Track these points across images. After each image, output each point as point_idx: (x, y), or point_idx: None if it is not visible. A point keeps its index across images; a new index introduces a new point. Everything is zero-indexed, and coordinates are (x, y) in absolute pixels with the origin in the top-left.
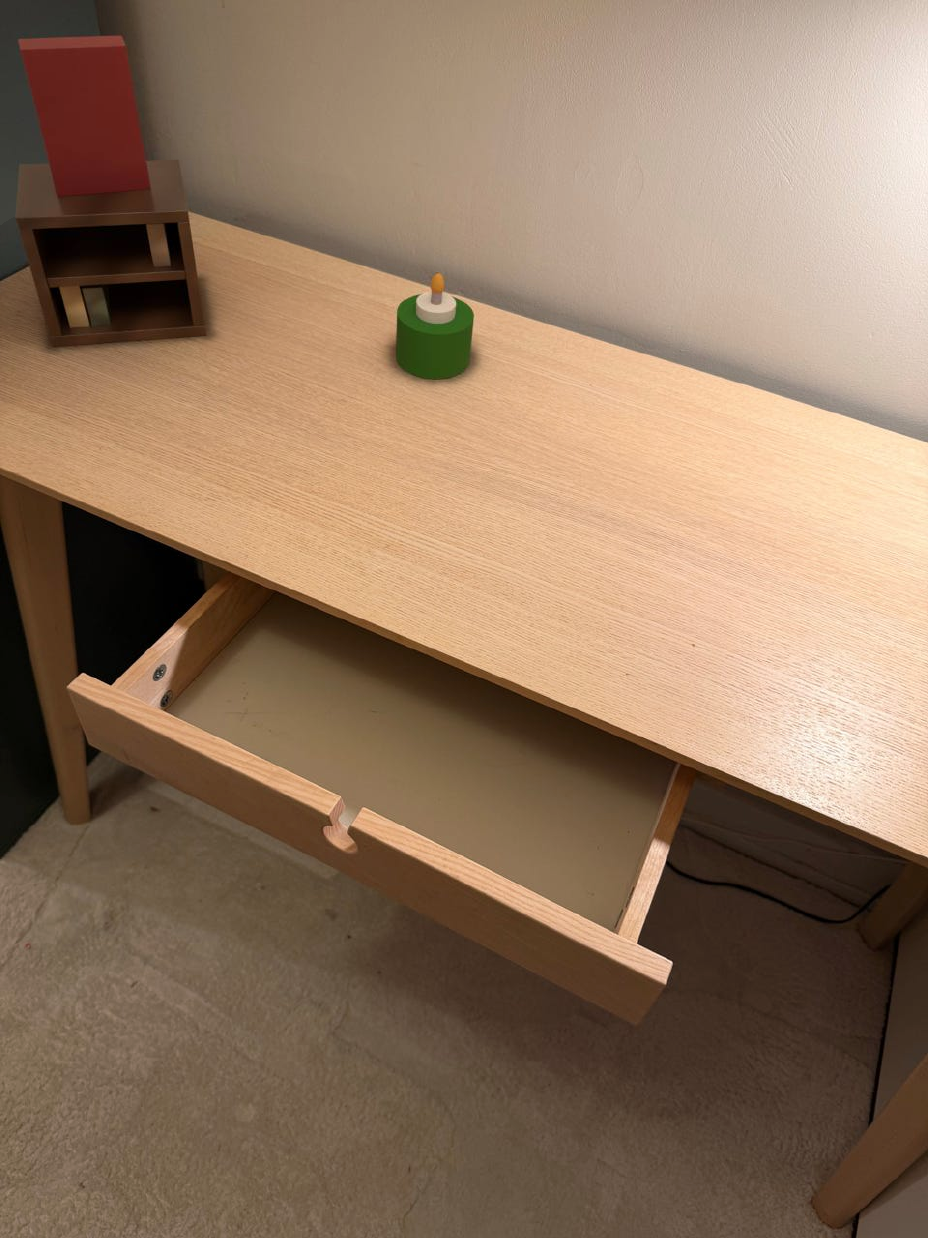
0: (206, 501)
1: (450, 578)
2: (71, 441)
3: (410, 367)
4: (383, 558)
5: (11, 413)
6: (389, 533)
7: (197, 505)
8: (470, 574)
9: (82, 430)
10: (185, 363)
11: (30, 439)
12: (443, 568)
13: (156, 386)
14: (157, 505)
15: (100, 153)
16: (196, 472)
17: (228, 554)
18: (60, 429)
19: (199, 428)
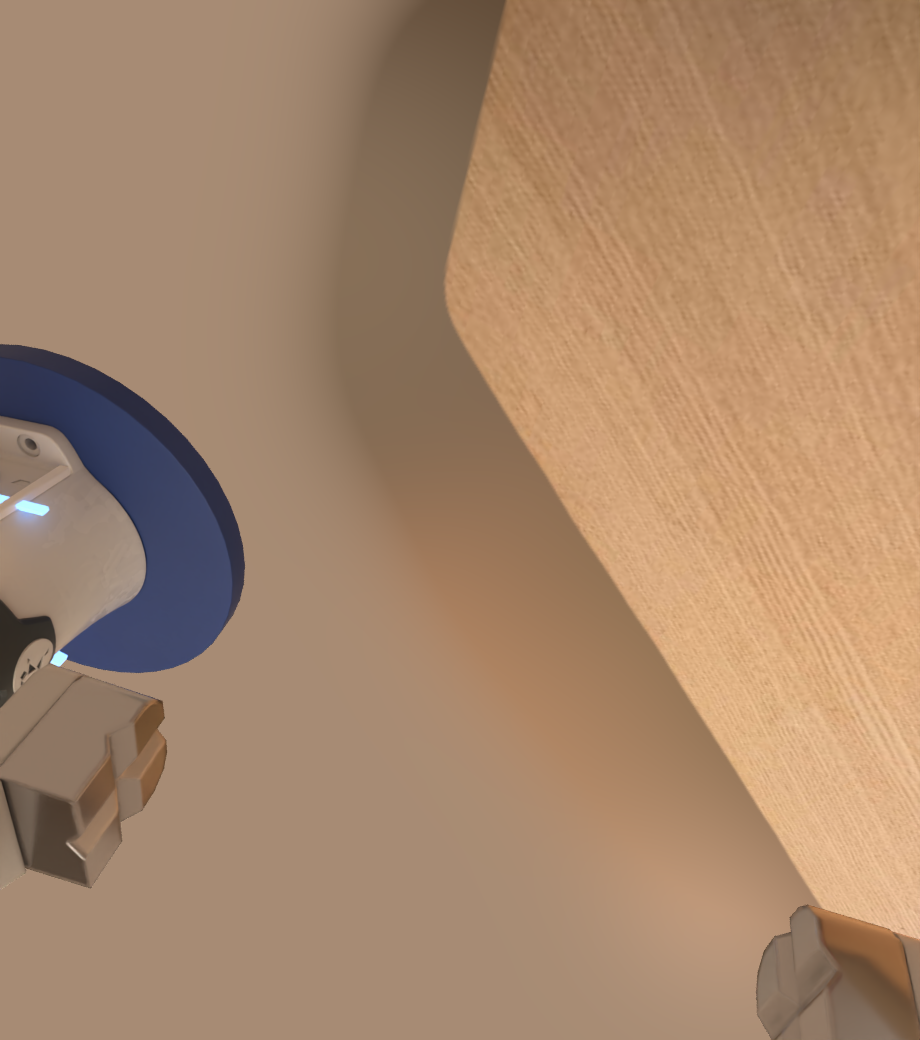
0: (673, 525)
1: (858, 778)
2: (548, 286)
3: None
4: (812, 719)
5: (476, 141)
6: (855, 697)
7: (657, 525)
8: (885, 787)
9: (577, 264)
10: (891, 125)
11: (486, 244)
12: (864, 765)
13: (777, 188)
14: (606, 497)
15: None
16: (696, 464)
17: (643, 617)
18: (543, 241)
19: (769, 365)
